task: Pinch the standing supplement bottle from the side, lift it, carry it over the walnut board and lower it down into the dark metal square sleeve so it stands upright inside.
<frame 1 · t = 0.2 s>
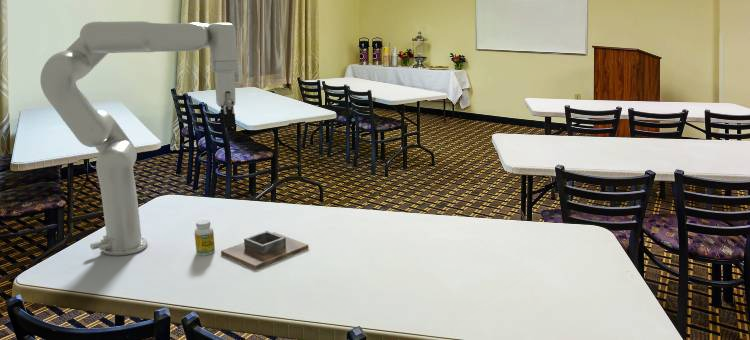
hand: (228, 124, 177), 36 cm above the table, tool pointing down, fingers open, 9 cm apart
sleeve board: (265, 251, 177), on the table
supplement bottle: (205, 252, 176), on the table
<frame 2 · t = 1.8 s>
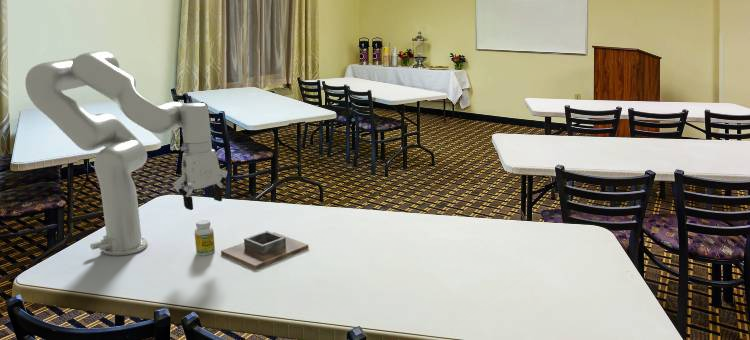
hand: (203, 204, 172), 15 cm above the table, tool pointing down, fingers open, 9 cm apart
nothing on the table moved.
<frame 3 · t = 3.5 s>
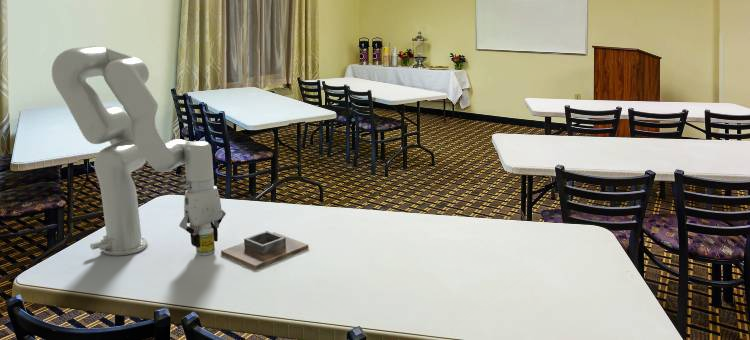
hand: (205, 242, 175), 3 cm above the table, tool pointing down, fingers closed on supplement bottle, 5 cm apart
supplement bottle: (205, 252, 176), on the table, touching gripper
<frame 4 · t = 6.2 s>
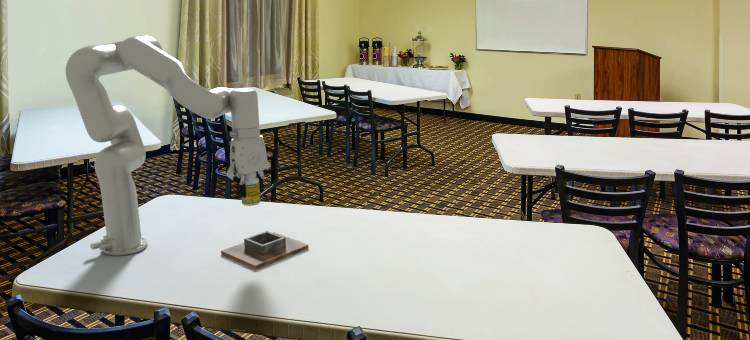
hand: (250, 193, 172), 18 cm above the table, tool pointing down, fingers closed on supplement bottle, 5 cm apart
supplement bottle: (251, 204, 173), point 15 cm above the table, touching gripper
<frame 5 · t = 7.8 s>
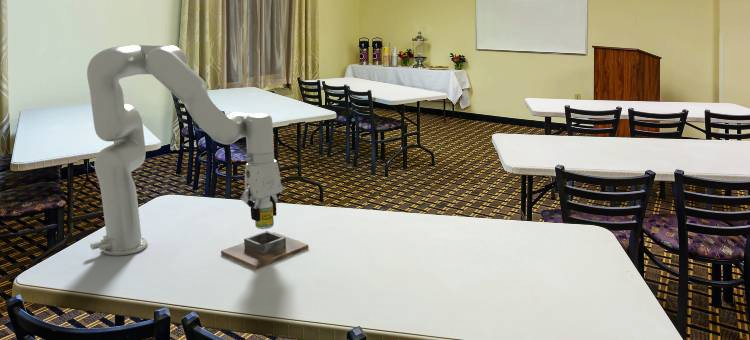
hand: (264, 216, 174), 11 cm above the table, tool pointing down, fingers closed on supplement bottle, 5 cm apart
supplement bottle: (264, 227, 175), point 8 cm above the table, touching gripper
when the fingers open (5 cm above the table, at t = 9.2 s): supplement bottle drops 1 cm, resting on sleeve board.
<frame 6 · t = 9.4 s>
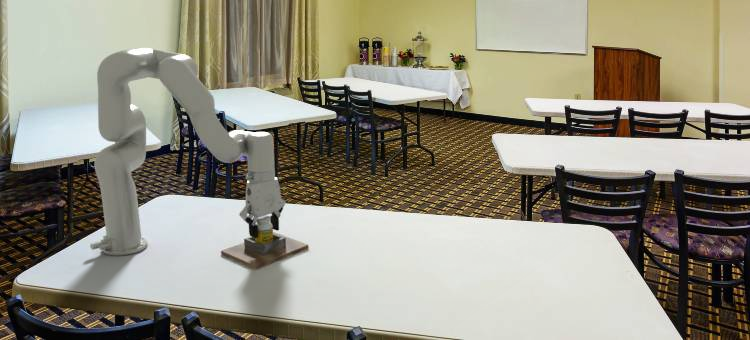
hand: (264, 232, 175), 6 cm above the table, tool pointing down, fingers open, 7 cm apart
supplement bottle: (264, 248, 176), point 1 cm above the table, touching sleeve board
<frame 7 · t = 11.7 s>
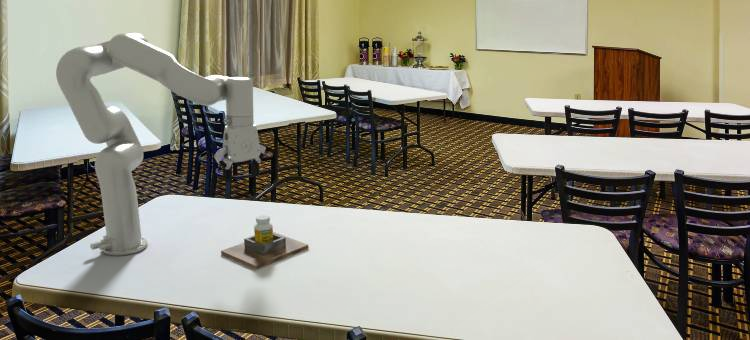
hand: (241, 178, 174), 22 cm above the table, tool pointing down, fingers open, 9 cm apart
nothing on the table moved.
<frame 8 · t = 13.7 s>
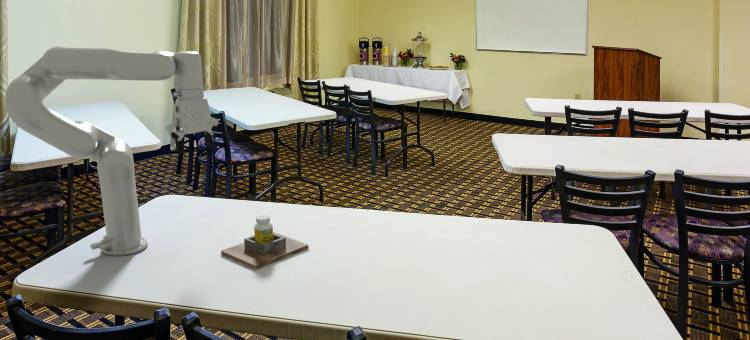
hand: (194, 150, 180), 28 cm above the table, tool pointing down, fingers open, 9 cm apart
nothing on the table moved.
at the end: supplement bottle 0.3 cm off-centre on the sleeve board, point 1.0 cm above the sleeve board's base; supplement bottle tilted 0°; the gripper is holding nothing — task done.
